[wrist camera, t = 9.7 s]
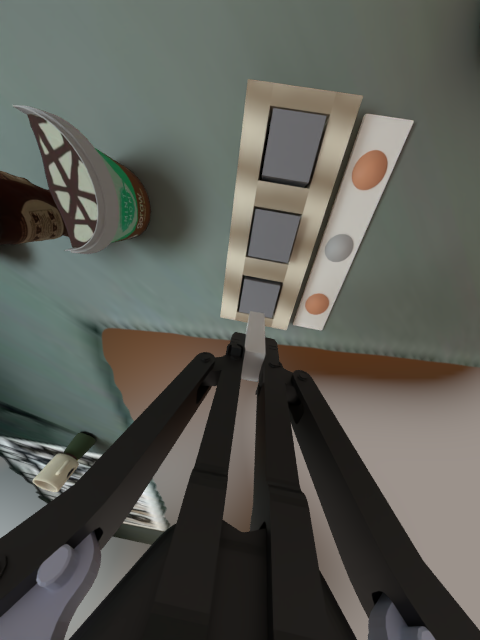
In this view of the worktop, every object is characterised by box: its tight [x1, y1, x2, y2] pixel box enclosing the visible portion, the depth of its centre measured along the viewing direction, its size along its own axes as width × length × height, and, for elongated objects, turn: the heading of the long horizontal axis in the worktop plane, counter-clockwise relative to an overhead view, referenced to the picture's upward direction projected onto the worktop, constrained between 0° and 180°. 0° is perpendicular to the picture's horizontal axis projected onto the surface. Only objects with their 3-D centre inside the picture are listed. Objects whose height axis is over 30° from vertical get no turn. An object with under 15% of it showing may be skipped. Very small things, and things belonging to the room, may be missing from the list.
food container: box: [12, 105, 151, 254], centre depth 21 cm, size 12×6×10 cm, turn 175°
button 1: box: [239, 276, 280, 318], centre depth 27 cm, size 5×5×3 cm
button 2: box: [262, 108, 327, 188], centre depth 20 cm, size 5×5×3 cm
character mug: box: [33, 433, 96, 492], centre depth 53 cm, size 11×7×13 cm, turn 133°
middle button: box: [248, 209, 301, 263], centre depth 23 cm, size 5×5×3 cm
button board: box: [220, 79, 363, 330], centre depth 24 cm, size 26×11×3 cm, turn 171°
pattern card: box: [293, 114, 414, 331], centre depth 25 cm, size 26×5×1 cm, turn 171°
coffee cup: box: [0, 171, 69, 245], centre depth 22 cm, size 9×8×13 cm
